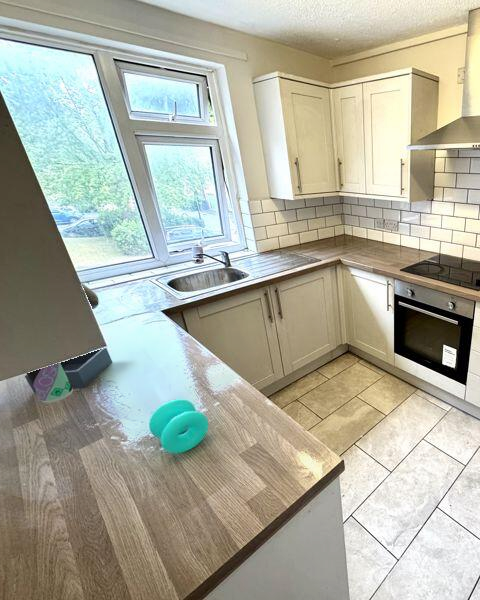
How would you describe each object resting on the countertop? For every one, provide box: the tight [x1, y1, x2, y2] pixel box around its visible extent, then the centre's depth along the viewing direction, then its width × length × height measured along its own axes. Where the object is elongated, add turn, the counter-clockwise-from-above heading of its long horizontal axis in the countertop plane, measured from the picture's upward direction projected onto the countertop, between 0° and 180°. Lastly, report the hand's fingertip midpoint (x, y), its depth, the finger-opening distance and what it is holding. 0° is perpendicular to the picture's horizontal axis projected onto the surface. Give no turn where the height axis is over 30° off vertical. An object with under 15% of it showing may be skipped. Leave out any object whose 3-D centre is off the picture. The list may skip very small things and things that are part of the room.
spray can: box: [25, 363, 74, 404], centre depth 74 cm, size 6×6×20 cm
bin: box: [24, 347, 113, 393], centre depth 104 cm, size 14×14×6 cm
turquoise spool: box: [148, 398, 209, 454], centre depth 80 cm, size 10×10×10 cm
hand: (31, 359), depth 72 cm, fingers closed on spray can, 5 cm apart
